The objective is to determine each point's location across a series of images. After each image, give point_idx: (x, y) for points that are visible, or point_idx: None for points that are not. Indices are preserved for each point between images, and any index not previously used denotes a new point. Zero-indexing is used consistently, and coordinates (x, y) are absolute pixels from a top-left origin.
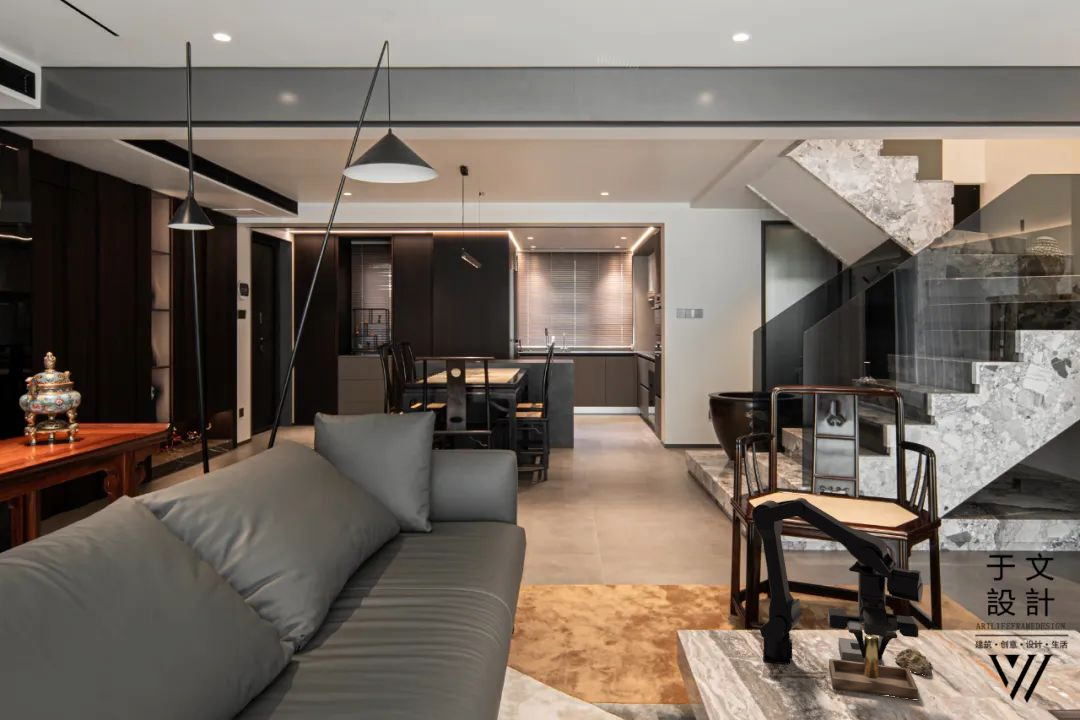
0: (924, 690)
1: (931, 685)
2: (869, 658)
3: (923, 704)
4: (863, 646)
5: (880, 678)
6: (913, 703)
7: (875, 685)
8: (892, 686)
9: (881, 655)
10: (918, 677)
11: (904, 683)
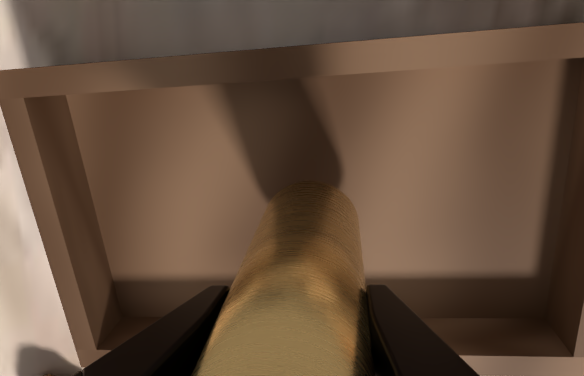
0: (33, 219)
1: (11, 287)
2: (320, 259)
3: (15, 26)
4: (404, 368)
5: None
6: (69, 14)
7: (290, 47)
8: (162, 57)
9: (182, 308)
10: (75, 352)
11: (124, 243)
